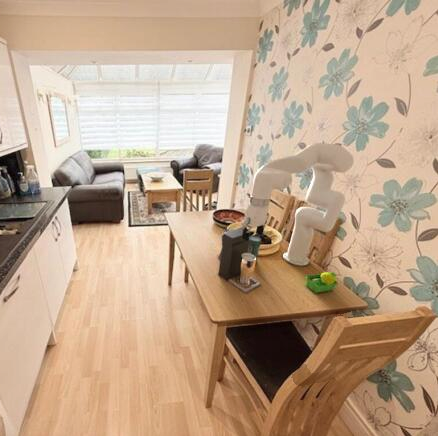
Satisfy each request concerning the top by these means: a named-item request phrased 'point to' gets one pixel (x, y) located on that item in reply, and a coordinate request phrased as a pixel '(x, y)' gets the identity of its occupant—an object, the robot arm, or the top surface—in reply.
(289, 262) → the robot arm
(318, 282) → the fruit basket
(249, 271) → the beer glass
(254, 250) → the can
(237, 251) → the coffee maker
